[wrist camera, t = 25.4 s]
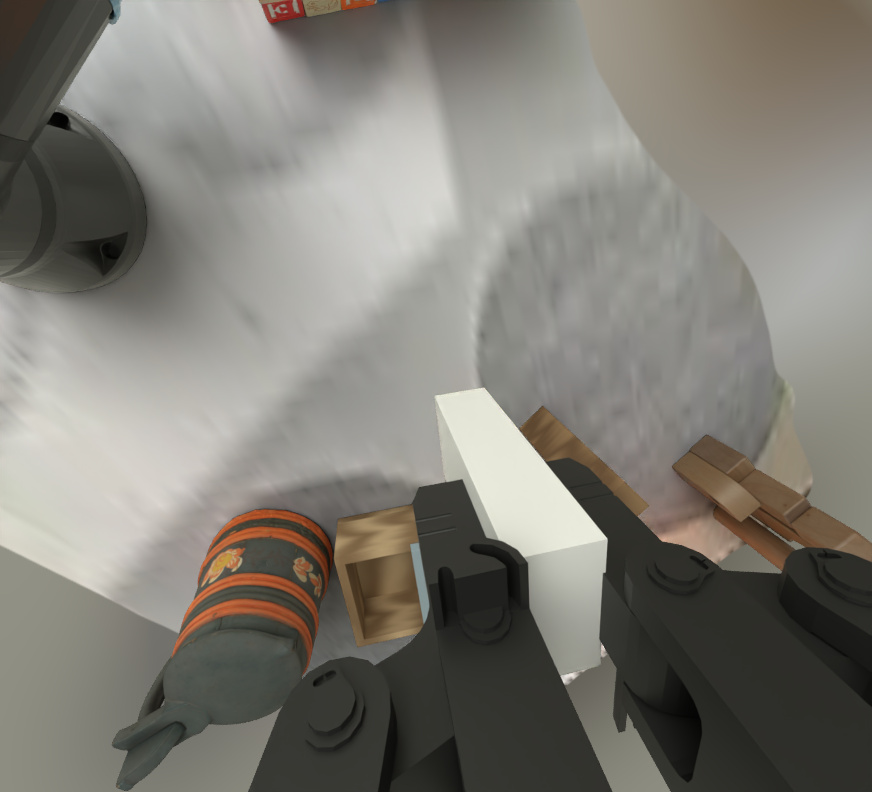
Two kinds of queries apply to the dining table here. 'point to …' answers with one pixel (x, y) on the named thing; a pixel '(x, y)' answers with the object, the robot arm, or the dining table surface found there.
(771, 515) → the wooden toy
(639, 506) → the pin
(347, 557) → the toolbox
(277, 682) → the beer stein
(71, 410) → the dining table surface
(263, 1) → the stack of blocks
